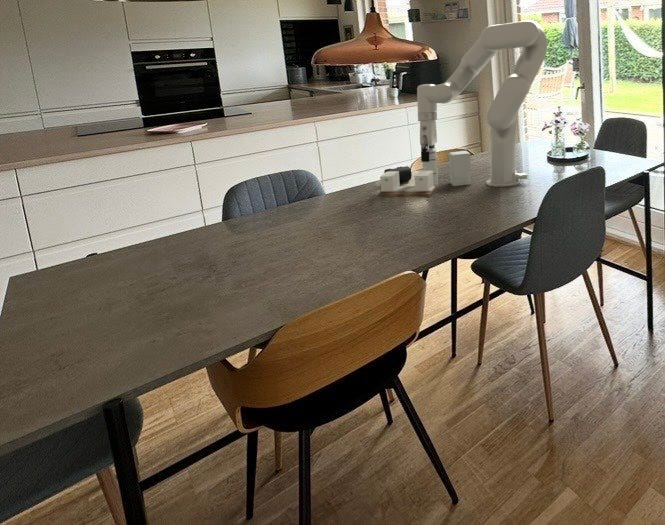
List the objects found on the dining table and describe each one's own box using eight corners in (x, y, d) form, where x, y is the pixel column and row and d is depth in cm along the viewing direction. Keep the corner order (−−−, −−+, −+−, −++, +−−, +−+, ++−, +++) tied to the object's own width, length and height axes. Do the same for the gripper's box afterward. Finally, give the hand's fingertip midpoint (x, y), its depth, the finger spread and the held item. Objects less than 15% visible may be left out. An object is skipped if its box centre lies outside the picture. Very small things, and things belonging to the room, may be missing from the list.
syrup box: (438, 185, 232) (436, 150, 227) (423, 186, 234) (421, 151, 229) (437, 182, 238) (436, 147, 233) (423, 183, 239) (422, 148, 234)
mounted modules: (433, 185, 226) (432, 170, 223) (427, 191, 218) (427, 176, 215) (388, 185, 233) (387, 171, 231) (380, 191, 225) (379, 176, 223)
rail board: (437, 188, 227) (436, 184, 226) (430, 196, 217) (429, 192, 216) (387, 189, 235) (386, 185, 235) (378, 196, 225) (377, 192, 225)
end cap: (391, 186, 240) (390, 170, 237) (384, 183, 246) (383, 168, 244) (412, 182, 242) (411, 167, 240) (404, 179, 249) (403, 164, 246)
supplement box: (471, 184, 228) (470, 153, 224) (452, 186, 228) (451, 155, 224) (467, 180, 235) (466, 150, 231) (449, 182, 235) (448, 152, 231)
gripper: (431, 119, 217) (432, 163, 223) (441, 113, 232) (441, 155, 238) (412, 119, 220) (413, 163, 226) (423, 114, 235) (424, 155, 241)
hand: (428, 159), depth 232 cm, fingers open, 9 cm apart
